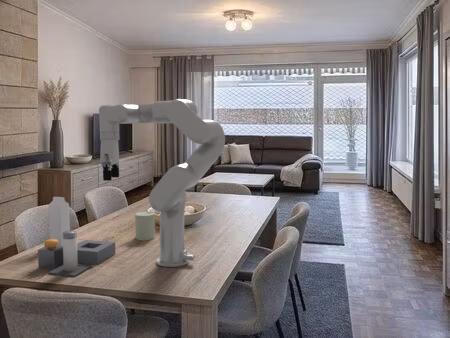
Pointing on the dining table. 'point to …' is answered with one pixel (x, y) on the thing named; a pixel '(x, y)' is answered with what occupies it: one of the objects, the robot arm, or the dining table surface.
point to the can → (145, 225)
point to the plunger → (51, 243)
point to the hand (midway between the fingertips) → (111, 178)
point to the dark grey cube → (50, 257)
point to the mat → (70, 273)
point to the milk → (59, 218)
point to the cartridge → (70, 251)
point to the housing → (94, 251)
